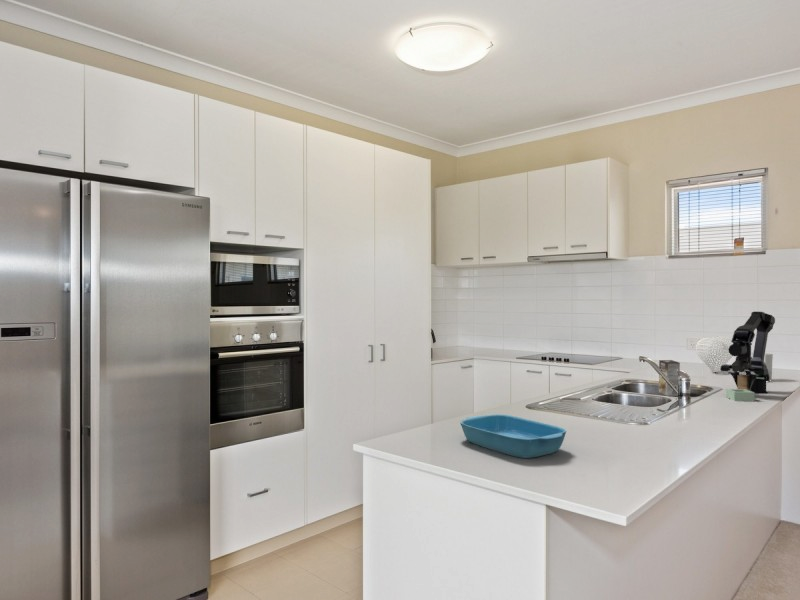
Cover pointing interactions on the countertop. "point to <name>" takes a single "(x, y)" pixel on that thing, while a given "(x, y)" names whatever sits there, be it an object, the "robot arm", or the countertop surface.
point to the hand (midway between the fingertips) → (743, 387)
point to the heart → (728, 357)
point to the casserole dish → (513, 435)
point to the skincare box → (767, 363)
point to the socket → (740, 394)
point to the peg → (743, 382)
